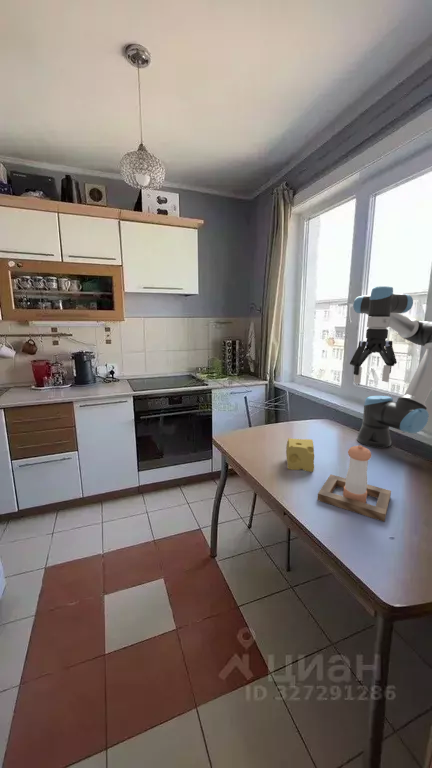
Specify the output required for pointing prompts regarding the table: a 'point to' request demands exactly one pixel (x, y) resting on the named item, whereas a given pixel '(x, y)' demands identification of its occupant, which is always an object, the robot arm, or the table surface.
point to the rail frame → (354, 505)
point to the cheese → (300, 454)
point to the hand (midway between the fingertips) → (371, 382)
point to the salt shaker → (357, 474)
